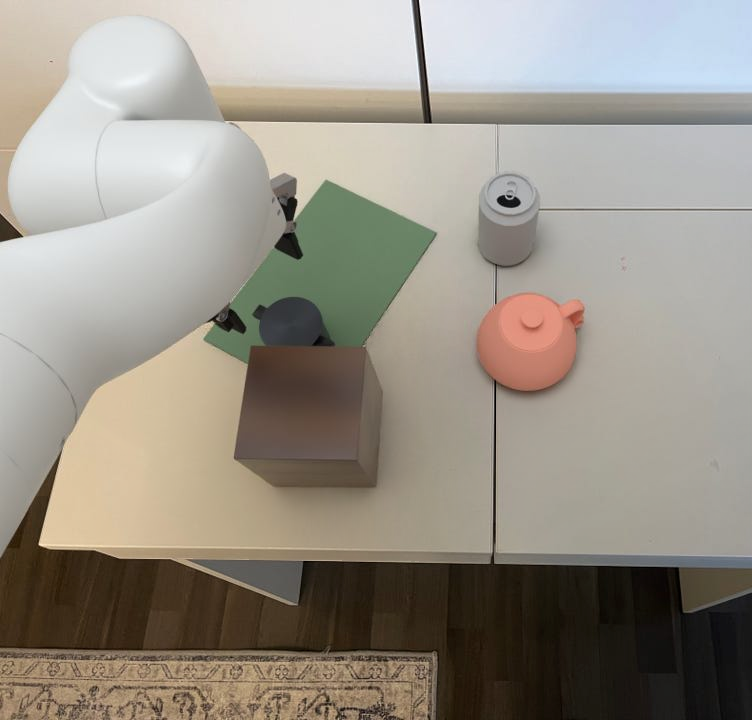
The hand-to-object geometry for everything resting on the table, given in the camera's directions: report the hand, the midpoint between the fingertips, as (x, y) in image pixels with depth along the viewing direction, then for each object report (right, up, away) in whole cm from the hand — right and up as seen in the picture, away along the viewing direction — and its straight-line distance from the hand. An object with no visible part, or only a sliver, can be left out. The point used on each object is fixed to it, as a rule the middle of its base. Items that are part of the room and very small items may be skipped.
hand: (262, 288), depth 67 cm
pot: (0, -6, +16) cm, 17 cm away
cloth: (+2, +3, +20) cm, 20 cm away
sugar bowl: (+29, -6, +17) cm, 34 cm away
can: (+26, +8, +23) cm, 35 cm away
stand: (+4, -17, +12) cm, 21 cm away
